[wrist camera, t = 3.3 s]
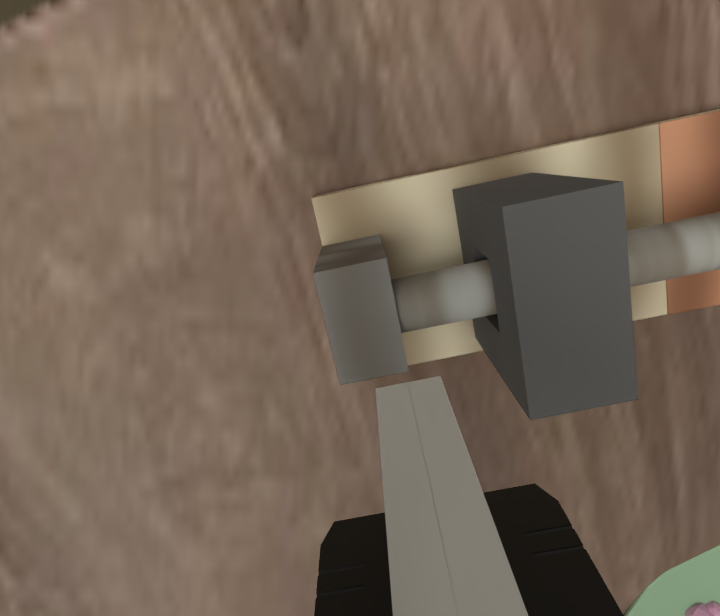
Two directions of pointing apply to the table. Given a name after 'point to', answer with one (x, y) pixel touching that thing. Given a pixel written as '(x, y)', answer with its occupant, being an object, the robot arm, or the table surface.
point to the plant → (683, 590)
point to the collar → (554, 288)
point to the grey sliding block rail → (474, 280)
